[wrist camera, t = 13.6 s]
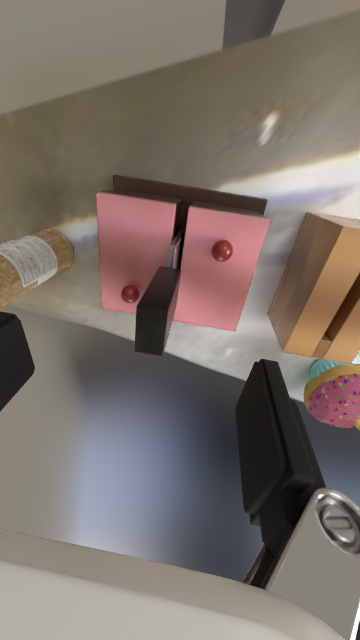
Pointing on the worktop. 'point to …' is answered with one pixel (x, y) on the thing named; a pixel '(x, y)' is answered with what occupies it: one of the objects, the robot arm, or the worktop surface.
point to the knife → (160, 302)
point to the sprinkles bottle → (31, 262)
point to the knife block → (321, 291)
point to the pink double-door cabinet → (198, 251)
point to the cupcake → (334, 393)
